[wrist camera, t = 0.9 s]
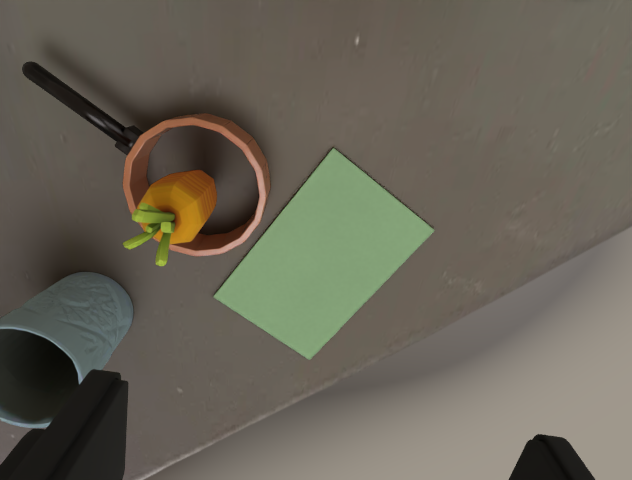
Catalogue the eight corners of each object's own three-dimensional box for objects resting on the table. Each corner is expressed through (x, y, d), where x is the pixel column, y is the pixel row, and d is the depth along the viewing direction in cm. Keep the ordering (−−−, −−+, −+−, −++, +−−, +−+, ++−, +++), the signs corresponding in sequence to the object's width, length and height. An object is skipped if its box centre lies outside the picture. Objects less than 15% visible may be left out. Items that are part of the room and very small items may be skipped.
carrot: (226, 210, 41) (181, 281, 27) (176, 198, 41) (103, 263, 27) (236, 161, 40) (192, 211, 26) (183, 148, 39) (110, 190, 25)
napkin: (333, 147, 39) (333, 147, 39) (433, 229, 42) (434, 230, 42) (213, 295, 45) (213, 297, 45) (309, 358, 48) (309, 360, 48)
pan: (295, 170, 40) (293, 180, 36) (223, 262, 43) (214, 279, 40) (80, 3, 35) (52, -6, 31) (18, 122, 38) (-14, 128, 35)
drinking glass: (82, 356, 48) (10, 442, 37) (24, 283, 44) (-74, 354, 33) (158, 325, 46) (108, 405, 35) (105, 247, 43) (30, 308, 32)
